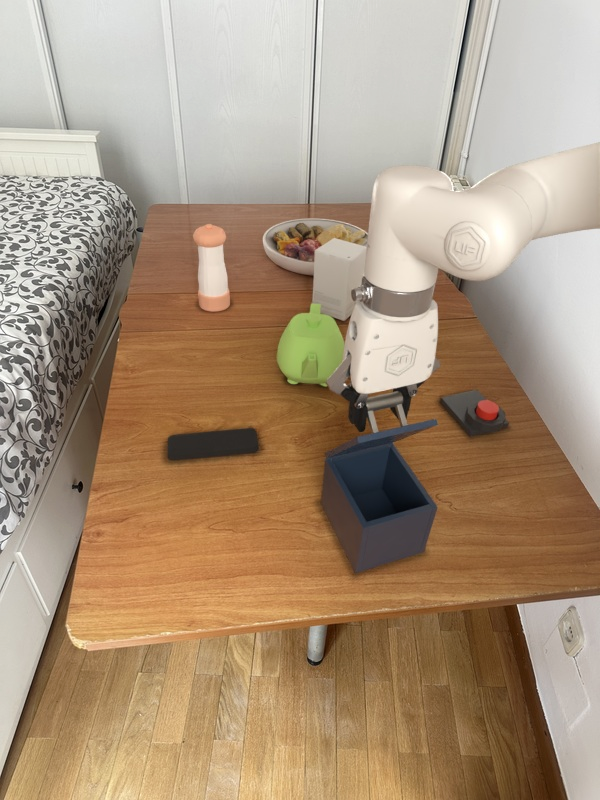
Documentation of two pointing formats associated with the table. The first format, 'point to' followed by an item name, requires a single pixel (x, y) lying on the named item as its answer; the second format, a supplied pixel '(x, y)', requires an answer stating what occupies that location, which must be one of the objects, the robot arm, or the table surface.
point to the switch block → (472, 413)
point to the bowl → (306, 241)
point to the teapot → (310, 348)
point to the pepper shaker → (212, 268)
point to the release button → (487, 410)
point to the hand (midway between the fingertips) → (377, 419)
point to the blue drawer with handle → (387, 435)
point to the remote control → (212, 444)
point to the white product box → (337, 276)
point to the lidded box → (376, 506)
